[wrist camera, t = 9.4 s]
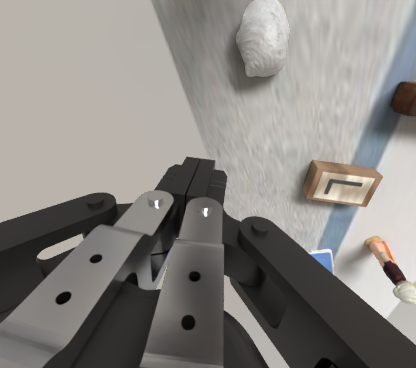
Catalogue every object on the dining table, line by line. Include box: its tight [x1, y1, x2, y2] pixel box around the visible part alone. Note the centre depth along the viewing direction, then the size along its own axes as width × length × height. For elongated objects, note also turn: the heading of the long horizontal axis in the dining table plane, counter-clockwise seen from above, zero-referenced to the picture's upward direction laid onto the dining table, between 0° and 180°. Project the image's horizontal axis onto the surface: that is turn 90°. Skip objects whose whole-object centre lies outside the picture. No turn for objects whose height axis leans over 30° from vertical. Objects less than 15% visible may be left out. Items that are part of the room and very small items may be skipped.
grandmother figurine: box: [365, 236, 416, 305], centre depth 40 cm, size 8×4×13 cm, turn 46°
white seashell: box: [236, 0, 290, 77], centre depth 29 cm, size 9×8×5 cm
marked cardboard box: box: [302, 160, 383, 207], centre depth 38 cm, size 6×4×10 cm
